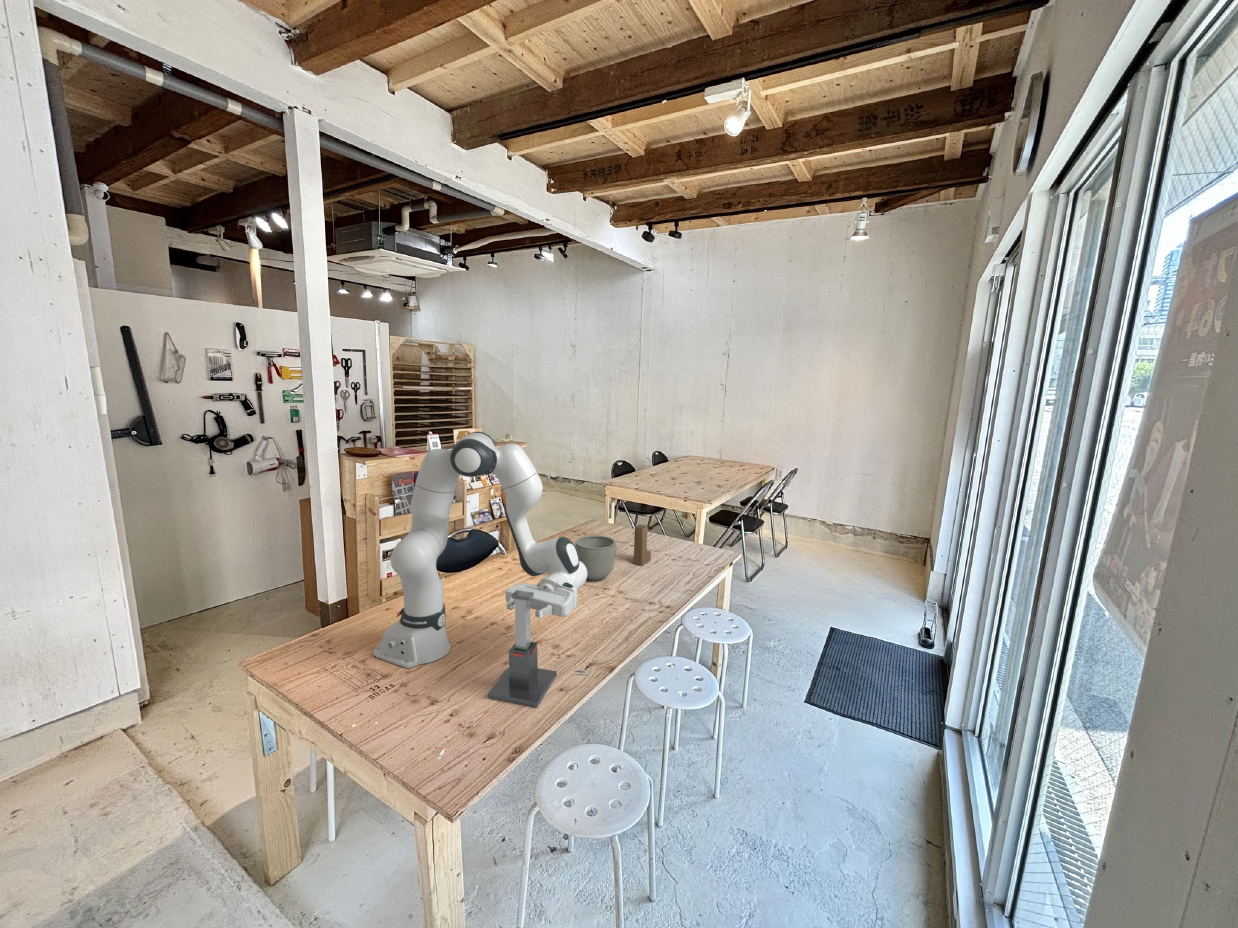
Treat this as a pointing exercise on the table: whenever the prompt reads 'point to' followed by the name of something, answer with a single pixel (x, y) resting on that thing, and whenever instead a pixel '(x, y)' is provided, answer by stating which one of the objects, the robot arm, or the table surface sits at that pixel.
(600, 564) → the planter
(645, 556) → the wooden block
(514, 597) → the column
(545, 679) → the stand
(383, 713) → the table surface
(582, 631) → the table surface
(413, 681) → the table surface
